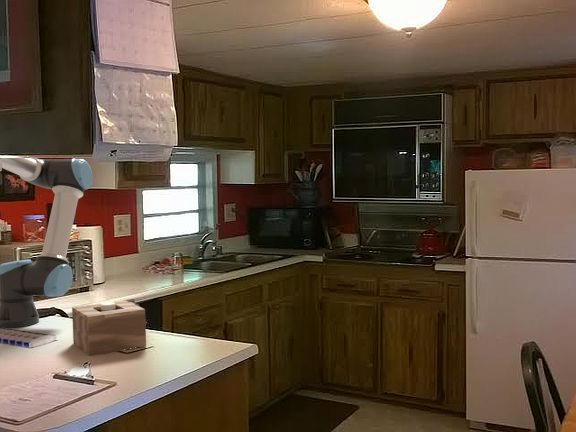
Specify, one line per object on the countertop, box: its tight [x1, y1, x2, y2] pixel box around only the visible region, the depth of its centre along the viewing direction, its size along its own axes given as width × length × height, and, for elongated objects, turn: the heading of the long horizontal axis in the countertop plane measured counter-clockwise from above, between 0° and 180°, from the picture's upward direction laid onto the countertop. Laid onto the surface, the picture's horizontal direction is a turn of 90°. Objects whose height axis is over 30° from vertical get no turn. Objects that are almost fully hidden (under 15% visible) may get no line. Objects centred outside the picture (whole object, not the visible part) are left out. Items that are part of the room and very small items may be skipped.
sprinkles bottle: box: [100, 301, 115, 312], centre depth 221 cm, size 5×5×14 cm
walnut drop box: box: [71, 300, 147, 357], centre depth 220 cm, size 18×18×12 cm
